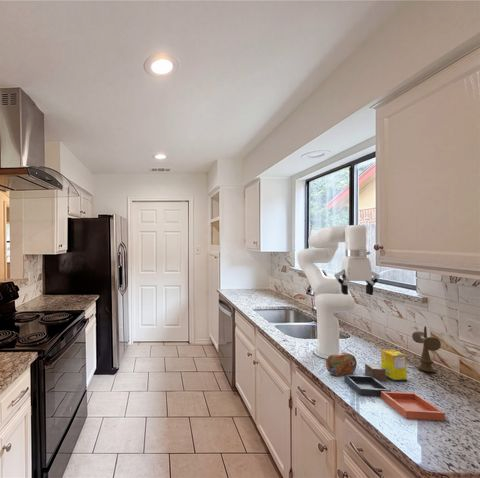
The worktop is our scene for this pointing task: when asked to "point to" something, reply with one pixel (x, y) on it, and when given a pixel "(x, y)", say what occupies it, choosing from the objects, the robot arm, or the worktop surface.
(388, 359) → the supplement box
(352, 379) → the charcoal tray
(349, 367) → the tin
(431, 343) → the kendama
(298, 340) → the worktop surface
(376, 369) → the walnut block
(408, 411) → the terracotta tray
